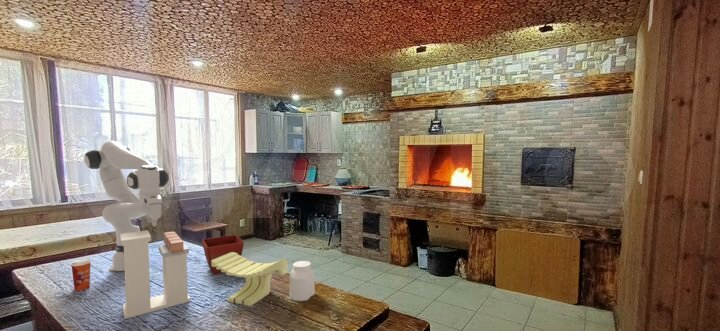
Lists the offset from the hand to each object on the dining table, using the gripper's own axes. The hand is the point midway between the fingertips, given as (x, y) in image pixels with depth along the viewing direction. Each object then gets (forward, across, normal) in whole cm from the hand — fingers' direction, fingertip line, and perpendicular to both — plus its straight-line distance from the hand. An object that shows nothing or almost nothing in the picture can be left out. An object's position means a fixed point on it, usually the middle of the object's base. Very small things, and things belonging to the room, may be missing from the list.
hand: (151, 223), depth 162 cm
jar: (+28, +69, +43) cm, 86 cm away
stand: (+29, +30, -6) cm, 42 cm away
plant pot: (+32, +8, +32) cm, 46 cm away
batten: (+5, +27, +2) cm, 27 cm away
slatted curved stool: (+29, +52, +26) cm, 65 cm away
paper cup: (+31, -17, -27) cm, 45 cm away
